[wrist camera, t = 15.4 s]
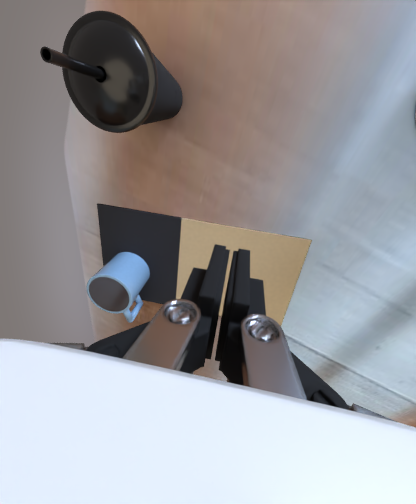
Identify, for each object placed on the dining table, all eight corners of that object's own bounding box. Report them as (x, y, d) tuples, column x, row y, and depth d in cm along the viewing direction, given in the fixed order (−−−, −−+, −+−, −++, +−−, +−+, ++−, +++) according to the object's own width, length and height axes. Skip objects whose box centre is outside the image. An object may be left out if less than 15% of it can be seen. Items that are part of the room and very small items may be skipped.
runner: (311, 239, 36) (311, 240, 36) (280, 327, 44) (280, 327, 44) (97, 203, 39) (97, 203, 38) (106, 292, 47) (106, 292, 47)
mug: (104, 256, 43) (77, 279, 36) (139, 247, 41) (118, 270, 34) (128, 302, 47) (109, 330, 41) (162, 296, 45) (147, 325, 39)
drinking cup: (170, 144, 33) (77, 161, 15) (124, 101, 31) (-36, 66, 14) (206, 93, 29) (140, 40, 12) (157, 43, 28) (0, -102, 10)
